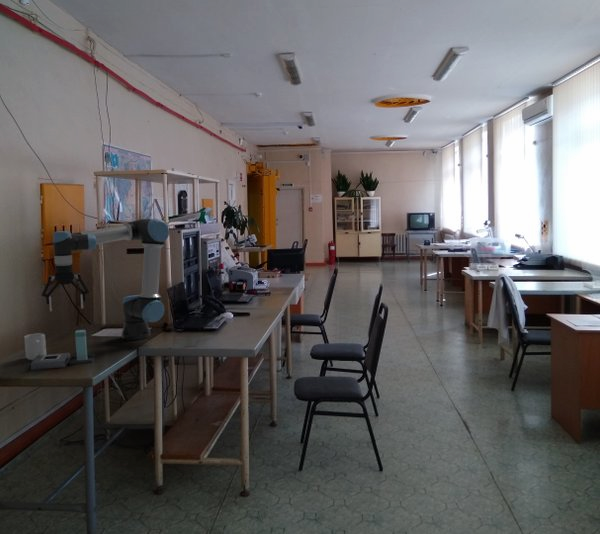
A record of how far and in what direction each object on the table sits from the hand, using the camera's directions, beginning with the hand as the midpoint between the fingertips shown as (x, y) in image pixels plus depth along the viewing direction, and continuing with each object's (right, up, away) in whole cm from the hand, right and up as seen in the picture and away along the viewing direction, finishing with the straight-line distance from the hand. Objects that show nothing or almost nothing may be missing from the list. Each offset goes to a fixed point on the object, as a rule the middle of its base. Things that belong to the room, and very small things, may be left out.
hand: (66, 309), depth 257 cm
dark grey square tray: (+8, -24, -2) cm, 25 cm away
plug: (+8, -24, -2) cm, 25 cm away
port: (-4, -25, -7) cm, 26 cm away
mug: (-16, -24, +5) cm, 29 cm away
